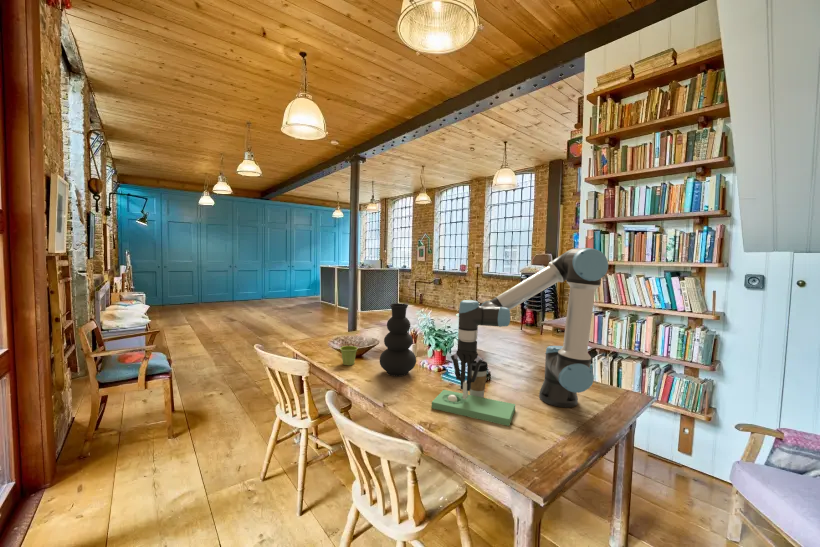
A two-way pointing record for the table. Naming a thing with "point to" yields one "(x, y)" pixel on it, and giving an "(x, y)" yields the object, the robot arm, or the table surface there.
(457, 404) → the block
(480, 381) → the coffee cup
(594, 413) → the table surface
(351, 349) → the plant pot
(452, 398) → the ball
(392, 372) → the vase
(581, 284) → the robot arm
